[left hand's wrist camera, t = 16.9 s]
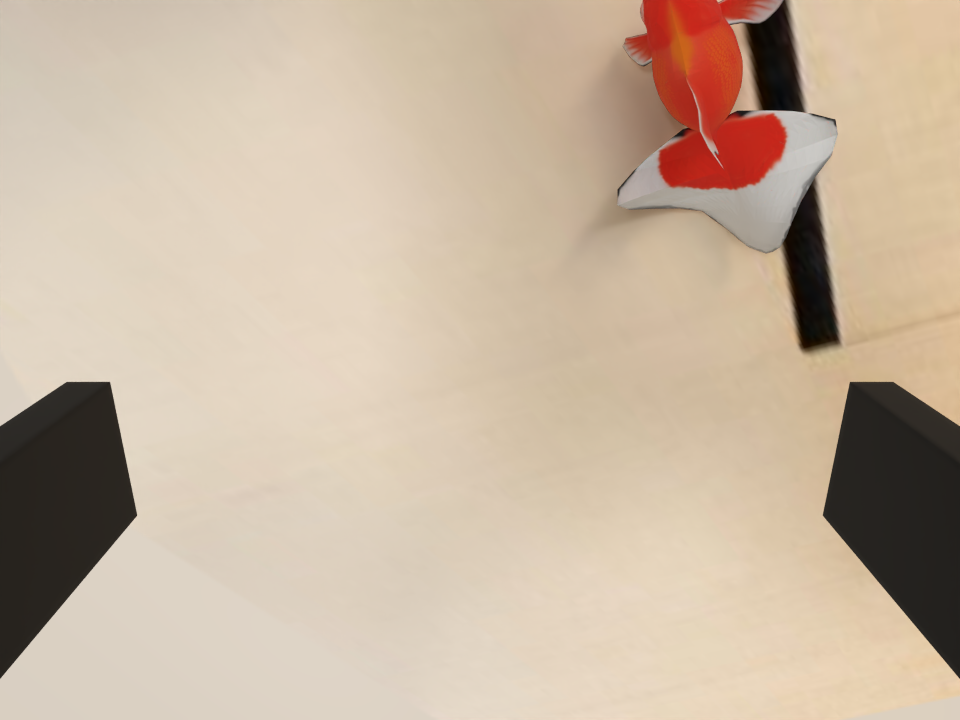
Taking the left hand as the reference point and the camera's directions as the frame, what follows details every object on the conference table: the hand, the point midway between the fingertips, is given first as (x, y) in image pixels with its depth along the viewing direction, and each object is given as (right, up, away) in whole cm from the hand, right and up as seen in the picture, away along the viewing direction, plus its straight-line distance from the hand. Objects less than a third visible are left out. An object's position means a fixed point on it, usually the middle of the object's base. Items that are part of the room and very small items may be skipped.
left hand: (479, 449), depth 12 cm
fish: (+12, +15, +26) cm, 33 cm away
